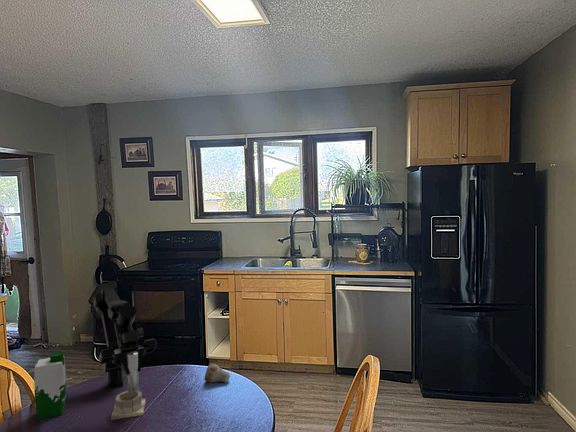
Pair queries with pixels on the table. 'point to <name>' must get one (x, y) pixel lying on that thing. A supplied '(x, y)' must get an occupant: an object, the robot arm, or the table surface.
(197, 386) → the table surface
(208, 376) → the flower patterned bottle
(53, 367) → the milk carton
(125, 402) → the cup bracket
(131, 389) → the grey glossy cylinder
